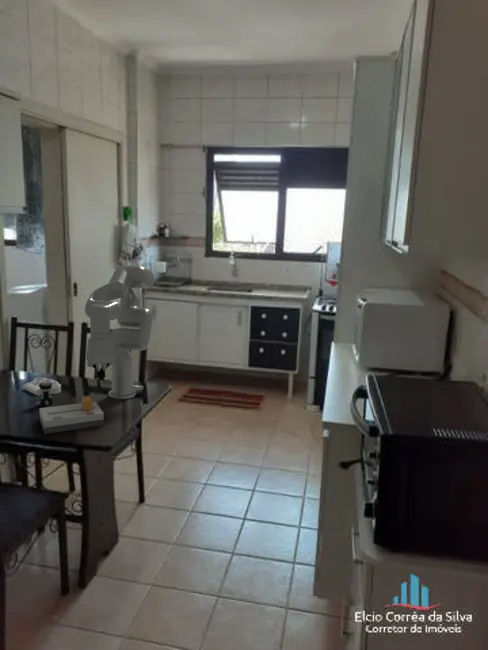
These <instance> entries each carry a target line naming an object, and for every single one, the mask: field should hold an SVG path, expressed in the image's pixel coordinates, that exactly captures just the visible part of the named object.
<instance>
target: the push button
mask: <svg viewBox="0 0 488 650" xmlns="http://www.w3.org/2000/svg"><path fill="white" fill-rule="evenodd" d="M39 386H40V389H41V395H40V399H39V401H36V406H39V405H40V406H49V405H53V398H52V395H51V394H50V388H52V387H51V386H52V383H50V381H42V382H41V383H40V384H39ZM43 390H44V391H43Z"/></svg>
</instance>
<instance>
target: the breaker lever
mask: <svg viewBox="0 0 488 650" xmlns="http://www.w3.org/2000/svg"><path fill="white" fill-rule="evenodd" d="M92 402H93V399H92V398H91V396H90V395H87V396H82V397H81V403H82V407H83V409H84V411H85V410H92Z"/></svg>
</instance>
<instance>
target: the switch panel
mask: <svg viewBox="0 0 488 650" xmlns="http://www.w3.org/2000/svg"><path fill="white" fill-rule="evenodd" d="M104 417H105V415H104V411H103V410H102V409H101V407H100V405H98V403H97V401H92V410H85V411H84V409H83V407H82V402H80V403H72V404H66V405H65V404H63V405H57V406H48V407H40V408H39V422H40V425H41V428H42V430H43V434H45V435H47V434H53V433H60V432H65V431H66V432H67V431H73V430H80V429H87V428H94V427H102V426H104V424H105V422H104V421H105V420H104V419H105V418H104Z"/></svg>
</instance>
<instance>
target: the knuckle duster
mask: <svg viewBox="0 0 488 650" xmlns="http://www.w3.org/2000/svg"><path fill="white" fill-rule="evenodd" d="M42 381H50V383H52V386H51V387H52V388H50V395H56V394H60V393H61V391H62V384H60V383H59V382H58V381H56V380H55V379H51V378H46V377H36V378H33V381H30V382H27V383H25V384H23V385H22V389H23V390H26V391H28V392H29V393H31V394H33V395H35V396H41V389H40V386H39V384H40V383H41V382H42ZM43 391H44V390H43Z"/></svg>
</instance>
